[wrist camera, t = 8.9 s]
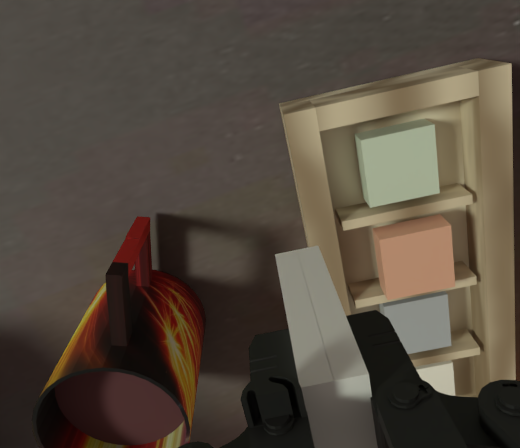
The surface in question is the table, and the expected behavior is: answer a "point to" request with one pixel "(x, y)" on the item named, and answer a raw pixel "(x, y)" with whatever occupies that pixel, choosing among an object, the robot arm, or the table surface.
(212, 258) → the table surface
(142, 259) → the mug
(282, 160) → the table surface
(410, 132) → the key sage
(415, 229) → the key terracotta
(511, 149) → the wooden compartment tray
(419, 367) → the key ivory
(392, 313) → the key slate
